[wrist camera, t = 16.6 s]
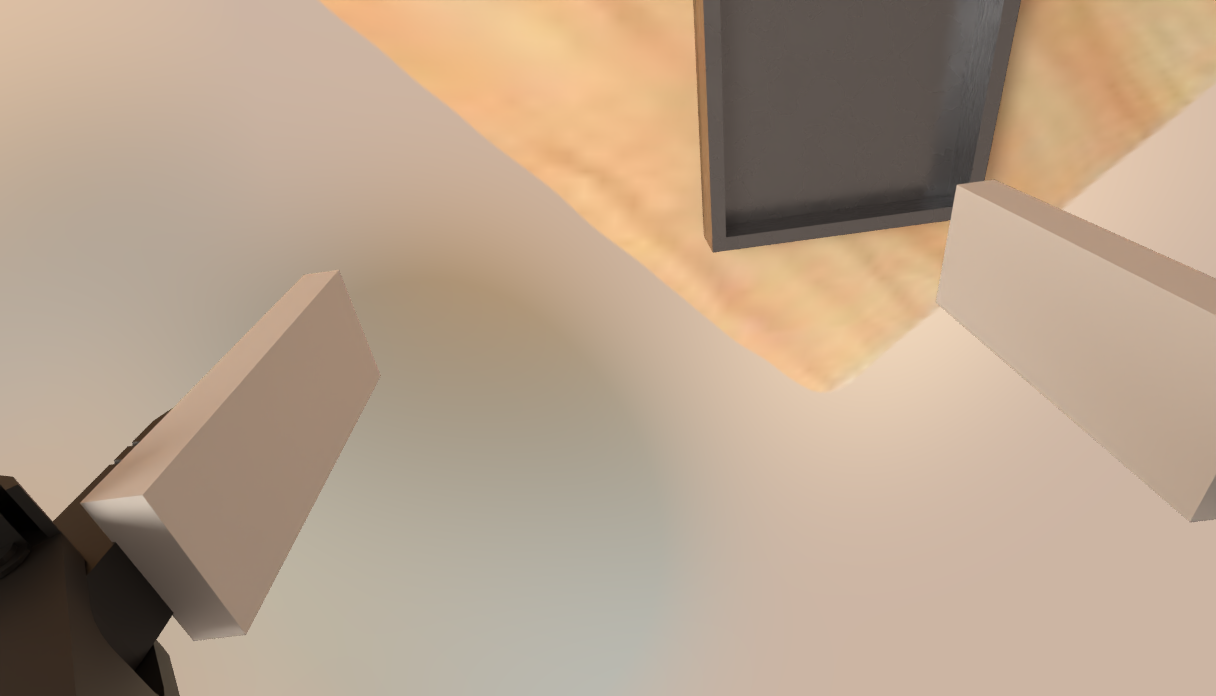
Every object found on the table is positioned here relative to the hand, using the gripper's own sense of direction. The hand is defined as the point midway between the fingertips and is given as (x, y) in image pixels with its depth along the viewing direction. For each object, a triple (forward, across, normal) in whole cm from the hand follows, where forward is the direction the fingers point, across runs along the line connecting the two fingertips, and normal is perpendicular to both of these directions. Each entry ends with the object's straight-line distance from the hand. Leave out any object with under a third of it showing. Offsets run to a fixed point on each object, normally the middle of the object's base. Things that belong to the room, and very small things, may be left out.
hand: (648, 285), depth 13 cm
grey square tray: (+32, +16, -2) cm, 36 cm away
